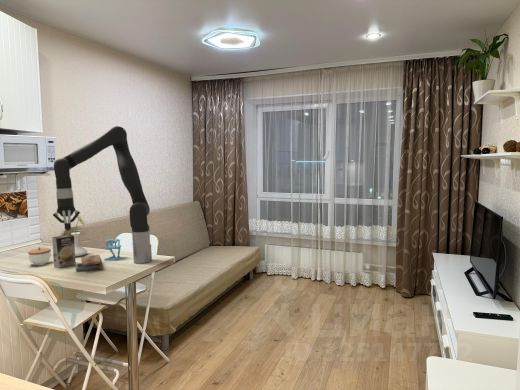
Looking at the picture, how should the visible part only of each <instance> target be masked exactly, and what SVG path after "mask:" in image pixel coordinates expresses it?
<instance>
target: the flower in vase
mask: <svg viewBox="0 0 520 390" xmlns="http://www.w3.org/2000/svg"><path fill="white" fill-rule="evenodd" d="M76 219H78V220H77V222H76V224H75V227H74V229H73V230H72V231H74V232H71V233H70V235H73V236H74V243H75V257H82V256H84V255H86V254H88V250H87V249H86V248H85V247H83V246H81V244H79V236H80V234H81V231H80V232H77V230H78V231H79V230H80V227H79V226H78V223H80V224H82V225H83V226H85V224H86V223H85V222H84V220H83V219H82V217H81V216H80V214H79V215H78V216H77V218H76Z"/></svg>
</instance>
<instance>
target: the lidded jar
mask: <svg viewBox="0 0 520 390" xmlns="http://www.w3.org/2000/svg"><path fill="white" fill-rule="evenodd" d="M27 253H28V259H29V262H30V263H31V264H32V265H34V266H36V265H38V266H43V265H46V264H48V262H49V261H50V260H51V255H52V254H51V253H52V252H51V248H50V247H43V248H42V247H38V248H36V249H35V248H34V249H31V250H28V251H27Z"/></svg>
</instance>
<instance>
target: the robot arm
mask: <svg viewBox="0 0 520 390" xmlns="http://www.w3.org/2000/svg"><path fill="white" fill-rule="evenodd" d="M110 146H112V147H113V150H114V152H115V155H116V156H115V157H116V160H117V161H116V162H117V167H118V171H119V175H120V179H121V180H122V181H121V182H122V183H123V185H124V187H125V189H126V190H127V191H128V193H129V195H130V198H131V202H132V205H131V206H130V207H129V211H128V213H129V223H130V227H131V236H132V237H131V238H132V254H133V258H132V259H133V263H134V264H137V265H138V264H147V263H149V262H153V257H152V256H153V255H152V254H153V253H152V244H151V237H150V236H151V234H150V233H151V232H150V231H151V230H150V225H149V223H148V216H149V214H150V209H151V208H150V205H149V203H148V200H147V198H146V196H145V193H144V190H143V185H142V181H141V178H140V174H139V172H138V171H139V170H138V168H137V164H136V162H135V161H134V158H133V155H132V154H131V151H130V148H129V143H128V133H127V130H126V129H125V128H124V127H122V126H119V125H116V126H113V127H111V128H110V129H109V130H108V131H107V132H105V133H103V134H102V135H101V136H100V137H98V138H96V139H94V140H92V141H90V142H89V143H87V144H85V145H83V146H80V147H79V148H77V149H75V150H73V151H72V152H71V153H69V154H67V155H65V156H63V157H61V158H57V159H55V161H54V162H53V171H54V177H55V186H56V187H55V188H56V196H55V197H56V205H57V208H56V212H54V213H52V216H53V217H54V218H55V219H56V220H57V221H58V222H60V224H64V229H65V231H70V230H71V229H72V223H73V222H75V220H76V219H78V218H77V216H78V215H79V216H80V214H81V212H80V211H79V210H76V207H75V202H74V191H73V185H72V184H73V183H72V178H71V173H70V171H71V170H72V169H73V168H74V167H76V166H78V165H80V164H82V163H84V162H87V161H88V160H90V159H92V158H94V156H96V155H97V154H99V153H100V152H102V151H103V150H105V149H107V148H109V147H110ZM73 214H74V216H73ZM59 215H60V216H61V217H62V218H63V219H61V217H59ZM71 216H73V217H71Z"/></svg>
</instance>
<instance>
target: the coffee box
mask: <svg viewBox="0 0 520 390" xmlns="http://www.w3.org/2000/svg"><path fill="white" fill-rule="evenodd" d="M51 239H52V253H53V254H52V255H53V256H52V257H53V258H52V259H53V267H56V268H57V269H61V268H65V267H70V266H76V264H77V263H76V262H77V261H76V256H75V243H74V236H73V235H72V234H66V235H57V236H53V237H52V238H51Z"/></svg>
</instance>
